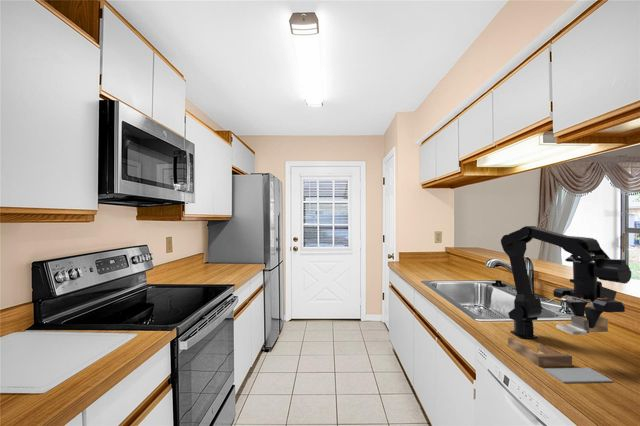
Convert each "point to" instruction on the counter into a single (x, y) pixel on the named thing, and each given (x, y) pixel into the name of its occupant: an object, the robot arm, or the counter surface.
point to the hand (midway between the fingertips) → (586, 326)
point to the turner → (584, 325)
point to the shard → (545, 349)
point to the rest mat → (577, 375)
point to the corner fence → (540, 355)
